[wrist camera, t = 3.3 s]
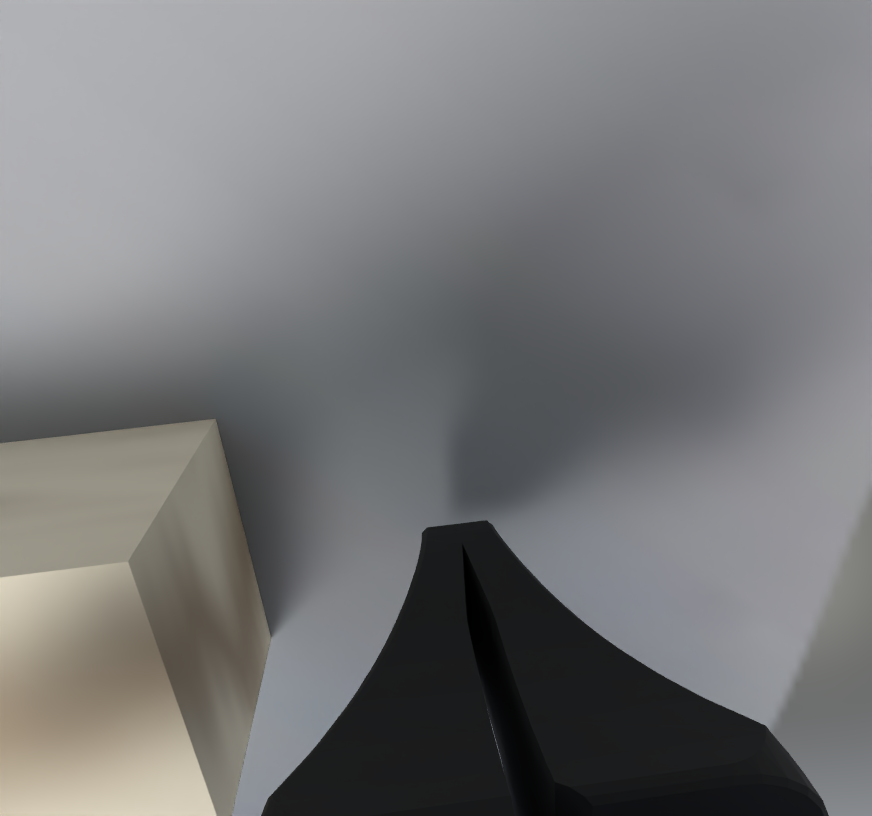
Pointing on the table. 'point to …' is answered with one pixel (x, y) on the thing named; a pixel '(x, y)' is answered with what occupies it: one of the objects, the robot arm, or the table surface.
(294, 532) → the table surface
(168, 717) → the birch block
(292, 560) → the table surface
